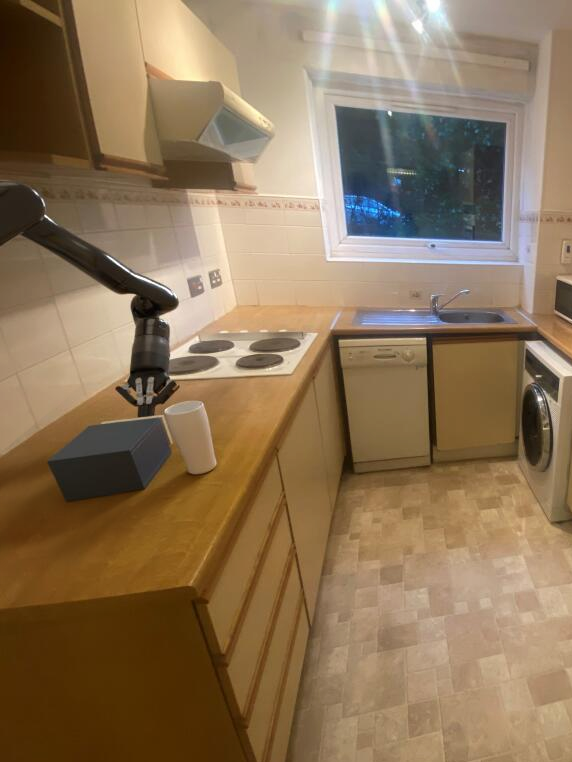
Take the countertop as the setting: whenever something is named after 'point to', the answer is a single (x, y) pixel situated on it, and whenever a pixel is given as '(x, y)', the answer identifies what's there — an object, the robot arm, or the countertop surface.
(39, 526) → the countertop surface
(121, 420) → the drawer
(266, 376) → the countertop surface
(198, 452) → the drinking glass
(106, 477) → the dark grey box
